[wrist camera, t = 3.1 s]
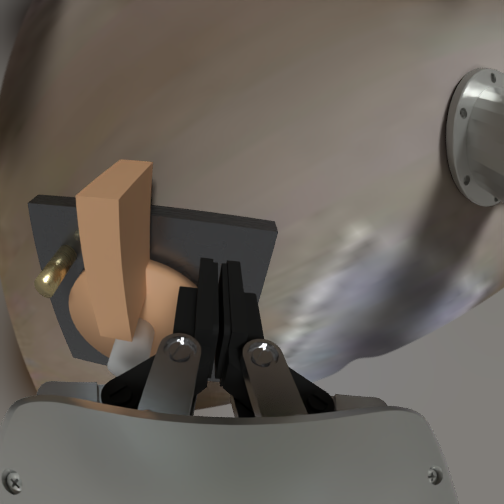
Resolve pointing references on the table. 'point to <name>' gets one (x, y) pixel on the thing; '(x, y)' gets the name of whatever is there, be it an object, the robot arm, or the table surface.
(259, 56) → the table surface
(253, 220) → the base plate
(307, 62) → the table surface
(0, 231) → the table surface
